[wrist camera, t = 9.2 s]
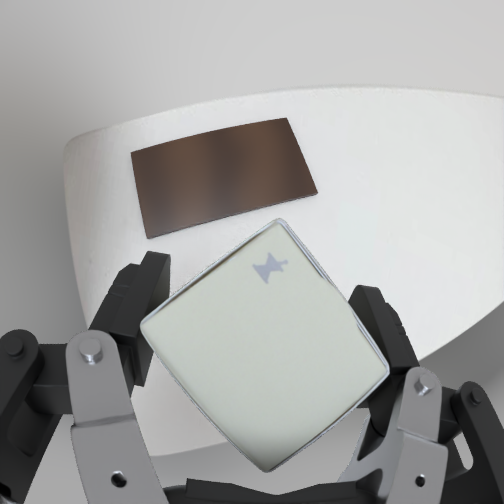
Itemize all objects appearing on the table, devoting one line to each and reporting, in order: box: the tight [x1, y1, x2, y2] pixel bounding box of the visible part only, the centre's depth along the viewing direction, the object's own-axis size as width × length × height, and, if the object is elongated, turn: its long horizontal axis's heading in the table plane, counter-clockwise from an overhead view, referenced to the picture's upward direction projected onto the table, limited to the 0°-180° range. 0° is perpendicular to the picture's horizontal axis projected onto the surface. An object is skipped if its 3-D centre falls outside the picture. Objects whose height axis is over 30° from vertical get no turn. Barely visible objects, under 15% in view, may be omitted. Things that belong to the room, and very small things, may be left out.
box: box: [140, 218, 390, 473], centre depth 13 cm, size 5×4×13 cm
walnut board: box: [131, 118, 318, 239], centre depth 34 cm, size 20×11×1 cm, turn 107°
